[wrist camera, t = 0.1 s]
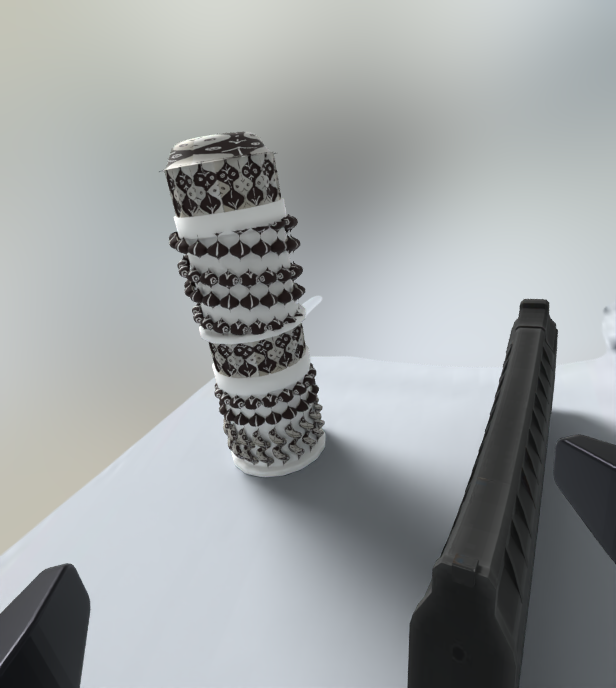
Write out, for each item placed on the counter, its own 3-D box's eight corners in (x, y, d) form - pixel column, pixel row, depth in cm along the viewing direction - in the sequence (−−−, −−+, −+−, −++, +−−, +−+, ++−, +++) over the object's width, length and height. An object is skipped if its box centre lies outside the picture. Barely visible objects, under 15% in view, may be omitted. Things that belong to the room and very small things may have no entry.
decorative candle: (317, 484, 33) (253, 121, 24) (209, 477, 36) (113, 149, 26) (340, 417, 41) (299, 127, 32) (250, 416, 44) (188, 148, 34)
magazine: (492, 837, 9) (567, 204, 28) (352, 752, 11) (512, 209, 30) (505, 873, 19) (554, 389, 38) (432, 826, 21) (513, 385, 40)
